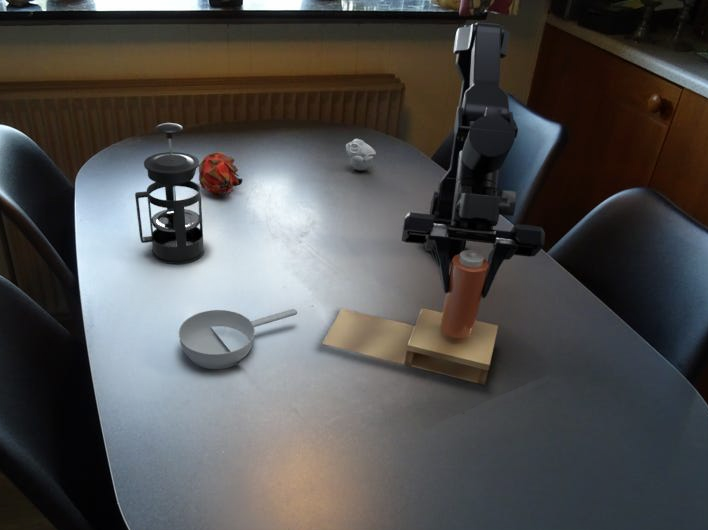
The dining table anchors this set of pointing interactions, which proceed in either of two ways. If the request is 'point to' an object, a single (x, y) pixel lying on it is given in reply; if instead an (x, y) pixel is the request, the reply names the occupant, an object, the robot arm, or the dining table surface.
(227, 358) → the saucepan
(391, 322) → the stand
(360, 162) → the frog figurine
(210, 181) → the dragon fruit
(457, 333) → the pepper mill
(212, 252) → the dining table surface
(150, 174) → the french press
